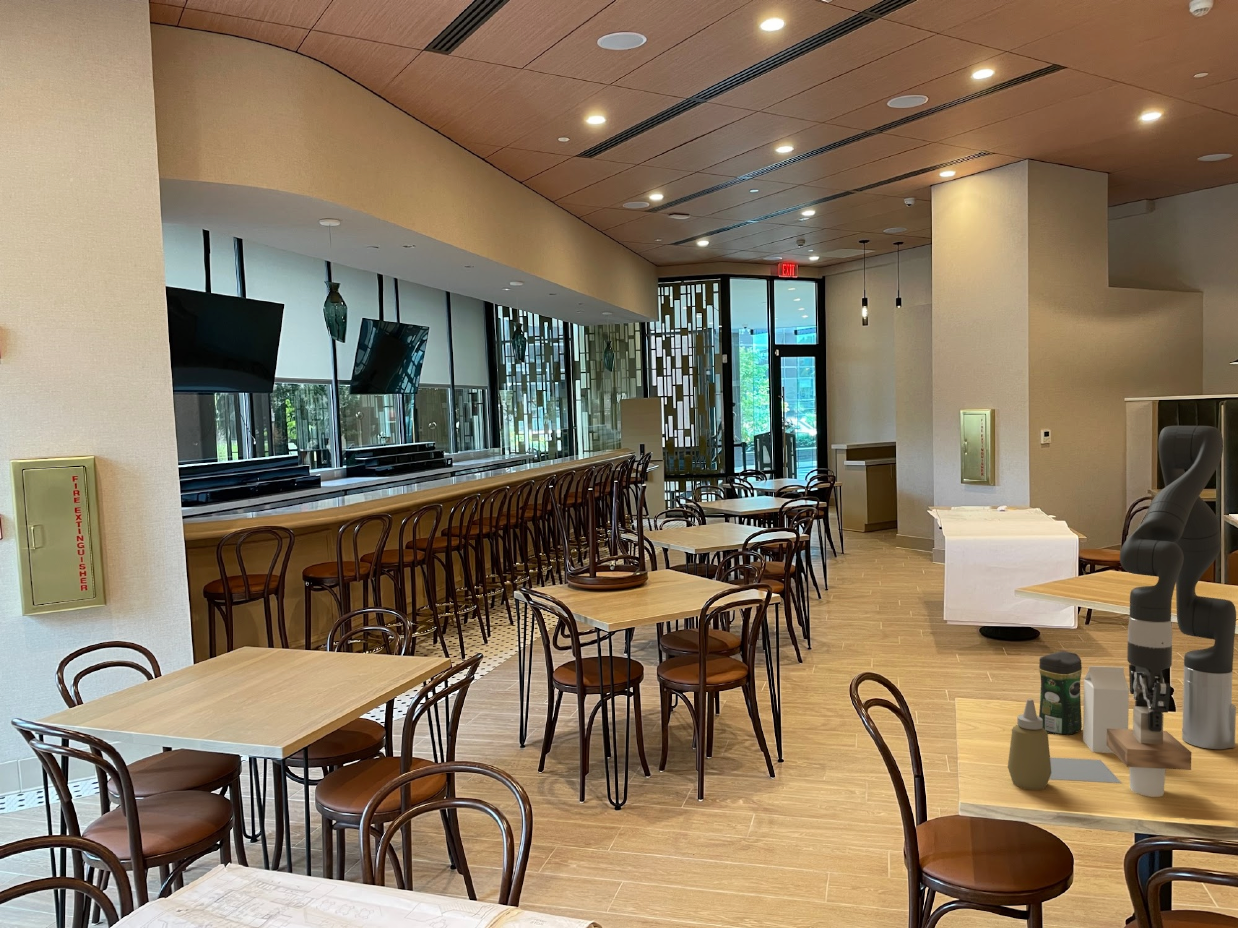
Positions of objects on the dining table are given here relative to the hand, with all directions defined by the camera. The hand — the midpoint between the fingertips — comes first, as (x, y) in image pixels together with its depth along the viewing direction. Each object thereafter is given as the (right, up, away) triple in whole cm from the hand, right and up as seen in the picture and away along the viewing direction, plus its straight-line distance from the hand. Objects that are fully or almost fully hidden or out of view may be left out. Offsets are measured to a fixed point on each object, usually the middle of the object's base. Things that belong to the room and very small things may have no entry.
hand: (1147, 724), depth 176 cm
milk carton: (+4, -13, +23) cm, 27 cm away
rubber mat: (-9, -14, +12) cm, 20 cm away
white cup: (0, -14, +1) cm, 14 cm away
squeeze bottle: (-21, -14, +5) cm, 26 cm away
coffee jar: (0, -12, +36) cm, 38 cm away
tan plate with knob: (0, -7, 0) cm, 7 cm away
